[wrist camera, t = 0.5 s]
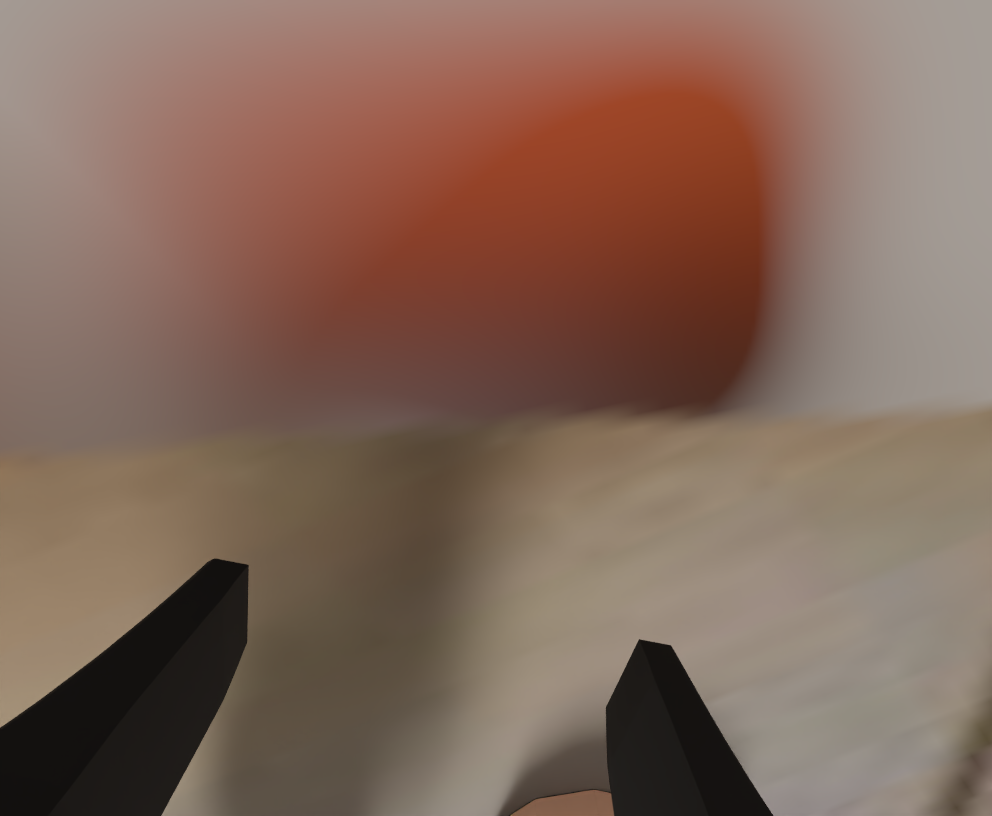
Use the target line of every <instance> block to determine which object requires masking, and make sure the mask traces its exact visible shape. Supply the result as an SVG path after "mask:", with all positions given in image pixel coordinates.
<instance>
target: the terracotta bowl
mask: <svg viewBox="0 0 992 816" xmlns="http://www.w3.org/2000/svg"><path fill="white" fill-rule="evenodd" d="M510 816H614V811H613V804H612V797H611V793H607V792H603V791H598V790H589V791H583V792H577V793H571V794H565V795H559V796H552V797H546V798H540V799H535V800H533V801H532V802H530V803H529V804H527V805H526V806H524V807H522V808H521V809H519V810H518V811H516V812H515V813H513V814H511V815H510Z"/></svg>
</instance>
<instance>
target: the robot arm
mask: <svg viewBox="0 0 992 816" xmlns="http://www.w3.org/2000/svg"><path fill="white" fill-rule="evenodd" d="M248 567H249V565H246V564H241V563H235V562H230V561H225V560H220V559H212V560H211V561H209V562H207V563H206V564H205V565H204V566H203V567H202V568H201V569H200V570H199V571H197V572H196V573H195V574H194V575H193V576H192V577H191V578H190V579H189V580H187V581H186V582H185V583H184V584H183V585H182V586H181V587H180V588H179V589H177V590H176V591H175V592H174V593H173V594H172V595H171V596H170V597H168V598H167V599H166V600H165V601H164V602H163V603H161V604H160V605H159V606H158V607H157V608H156V609H154V610H153V611H152V612H151V613H150V614H149V615H148V616H146V617H145V618H144V619H143V620H142V621H140V622H139V623H138V624H137V625H135V626H134V627H133V628H132V629H131V630H129V631H128V632H127V633H126V634H125V635H123V636H122V637H121V638H120V639H118V640H117V641H116V642H115V643H114V644H112V645H111V646H110V647H109V648H107V649H106V650H105V651H104V652H102V653H101V654H100V655H99V656H97V657H96V658H95V659H94V660H92V661H91V662H90V663H88V664H87V665H86V666H84V667H83V668H82V669H80V670H79V671H78V672H76V673H75V674H74V675H72V676H71V677H70V678H68V679H67V680H66V681H65V682H63V683H62V684H61V685H59V686H58V687H57V688H55V689H54V690H53V691H51V692H50V693H49V694H47V695H46V696H45V697H43V698H42V699H41V700H39V701H38V702H36V703H35V704H34V705H32V706H31V707H29V708H28V709H27V710H25V711H24V712H22V713H21V714H19V715H18V716H17V717H15V718H14V719H12V720H11V721H9V722H8V723H7V724H5V725H4V726H2V727H1V728H0V816H161V815H162V813H163V811H164V810H165V808H166V806H167V804H168V802H169V800H170V798H171V797H172V795H173V793H174V791H175V789H176V787H177V786H178V784H179V782H180V780H181V778H182V776H183V774H184V773H185V771H186V769H187V767H188V765H189V763H190V761H191V760H192V758H193V756H194V754H195V752H196V750H197V749H198V747H199V745H200V743H201V741H202V739H203V737H204V735H205V734H206V732H207V730H208V728H209V726H210V724H211V722H212V720H213V719H214V717H215V715H216V713H217V711H218V709H219V707H220V705H221V703H222V702H223V700H224V697H225V695H226V693H227V690H228V688H229V686H230V683H231V681H232V678H233V676H234V674H235V671H236V669H237V666H238V664H239V661H240V659H241V656H242V654H243V651H244V649H245V646H246V644H247V621H248ZM606 738H607V764H608V774H609V782H610V789H611V797H612V804H613V811H614V816H773V814H772V813H771V811H770V810H769V808H768V807H767V805H766V804H765V802H764V801H763V799H762V798H761V796H760V795H759V793H758V792H757V790H756V788H755V787H754V785H753V784H752V782H751V781H750V779H749V778H748V776H747V774H746V773H745V771H744V769H743V768H742V766H741V765H740V763H739V761H738V760H737V758H736V756H735V755H734V753H733V751H732V750H731V748H730V747H729V745H728V743H727V742H726V740H725V738H724V737H723V735H722V733H721V732H720V730H719V728H718V727H717V725H716V723H715V721H714V720H713V718H712V716H711V715H710V713H709V711H708V709H707V708H706V706H705V704H704V702H703V701H702V699H701V697H700V695H699V694H698V692H697V690H696V688H695V687H694V685H693V683H692V681H691V680H690V678H689V676H688V674H687V672H686V671H685V669H684V667H683V665H682V664H681V662H680V660H679V658H678V657H677V655H676V653H675V651H674V650H673V648H672V647H671V645H666V644H661V643H655V642H650V641H645V640H640V639H639V641H638V643H637V645H636V647H635V649H634V651H633V653H632V655H631V657H630V659H629V661H628V663H627V665H626V667H625V669H624V672H623V674H622V676H621V678H620V680H619V682H618V684H617V686H616V688H615V690H614V692H613V694H612V696H611V698H610V700H609V702H608V705H607V707H606Z"/></svg>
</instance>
